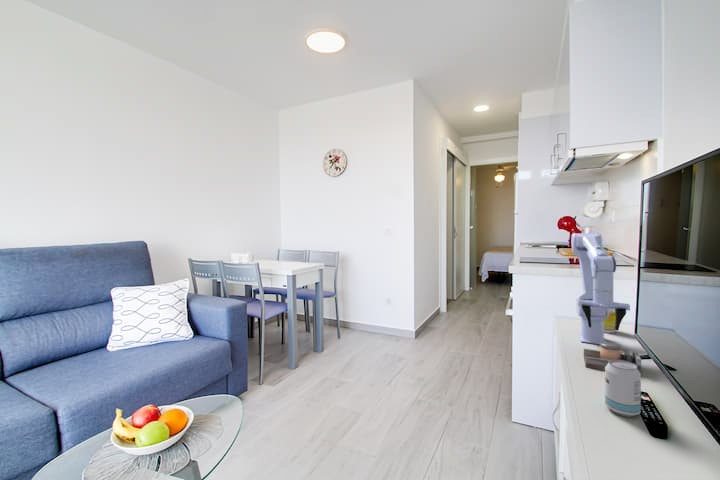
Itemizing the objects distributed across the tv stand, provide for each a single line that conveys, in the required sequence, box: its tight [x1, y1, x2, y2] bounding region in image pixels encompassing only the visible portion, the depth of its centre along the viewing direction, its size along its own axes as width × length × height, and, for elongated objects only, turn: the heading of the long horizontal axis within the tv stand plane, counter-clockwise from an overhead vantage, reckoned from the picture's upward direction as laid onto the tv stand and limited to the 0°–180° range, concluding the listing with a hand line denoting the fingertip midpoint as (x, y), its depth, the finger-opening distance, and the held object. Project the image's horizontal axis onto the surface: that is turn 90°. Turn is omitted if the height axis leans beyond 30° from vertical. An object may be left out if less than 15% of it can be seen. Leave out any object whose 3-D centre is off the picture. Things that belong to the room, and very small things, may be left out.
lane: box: [583, 348, 643, 377], centre depth 106 cm, size 10×14×5 cm
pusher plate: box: [623, 348, 632, 363], centre depth 104 cm, size 6×1×4 cm, turn 149°
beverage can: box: [604, 360, 642, 418], centre depth 81 cm, size 7×7×12 cm
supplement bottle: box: [604, 308, 617, 334], centre depth 139 cm, size 7×7×13 cm
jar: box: [599, 340, 622, 360], centre depth 106 cm, size 6×6×6 cm
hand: (603, 328), depth 115 cm, fingers open, 7 cm apart
